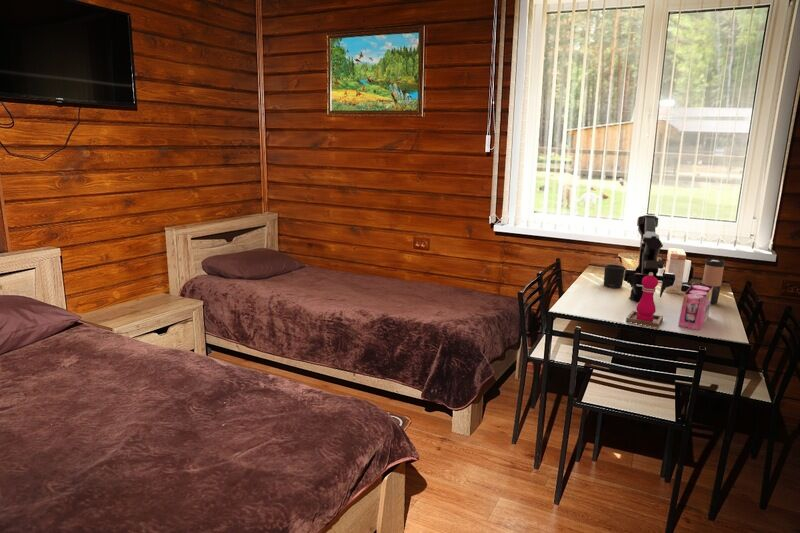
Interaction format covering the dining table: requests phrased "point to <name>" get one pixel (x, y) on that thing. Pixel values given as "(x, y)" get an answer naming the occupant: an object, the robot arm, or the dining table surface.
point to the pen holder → (613, 276)
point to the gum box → (695, 306)
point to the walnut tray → (632, 318)
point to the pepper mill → (647, 298)
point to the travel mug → (713, 276)
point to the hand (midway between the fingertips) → (648, 295)
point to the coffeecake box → (675, 268)
